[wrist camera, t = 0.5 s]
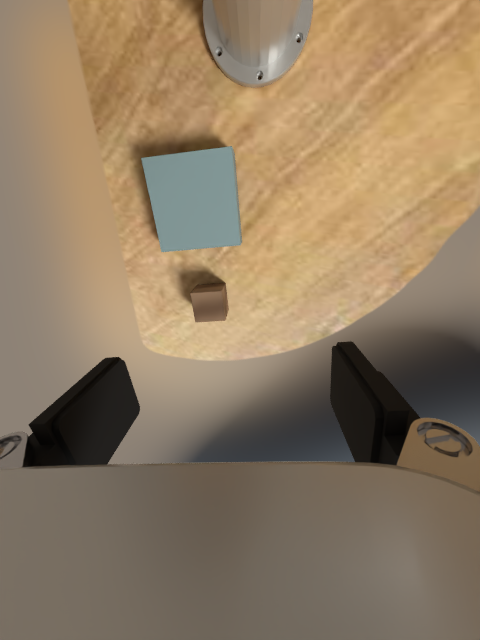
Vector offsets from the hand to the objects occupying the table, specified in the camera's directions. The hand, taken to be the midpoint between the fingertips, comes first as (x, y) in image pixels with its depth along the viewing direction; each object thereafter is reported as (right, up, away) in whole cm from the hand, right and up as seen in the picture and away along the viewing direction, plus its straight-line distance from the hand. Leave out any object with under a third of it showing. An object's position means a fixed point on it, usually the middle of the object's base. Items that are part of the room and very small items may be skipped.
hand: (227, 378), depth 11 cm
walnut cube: (-4, +7, +32) cm, 33 cm away
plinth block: (-6, +20, +26) cm, 33 cm away
